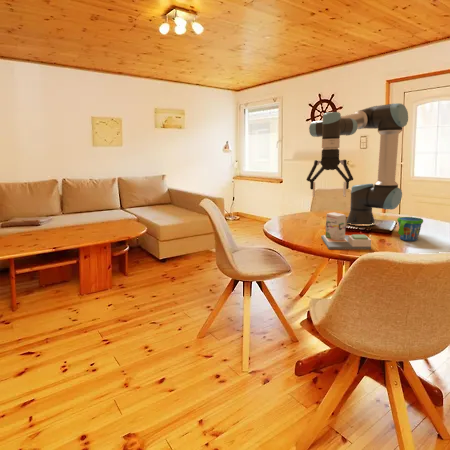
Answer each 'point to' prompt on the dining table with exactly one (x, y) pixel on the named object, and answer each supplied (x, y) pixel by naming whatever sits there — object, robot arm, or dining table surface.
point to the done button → (359, 237)
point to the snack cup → (409, 228)
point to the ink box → (335, 226)
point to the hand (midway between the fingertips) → (328, 196)
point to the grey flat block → (347, 243)
